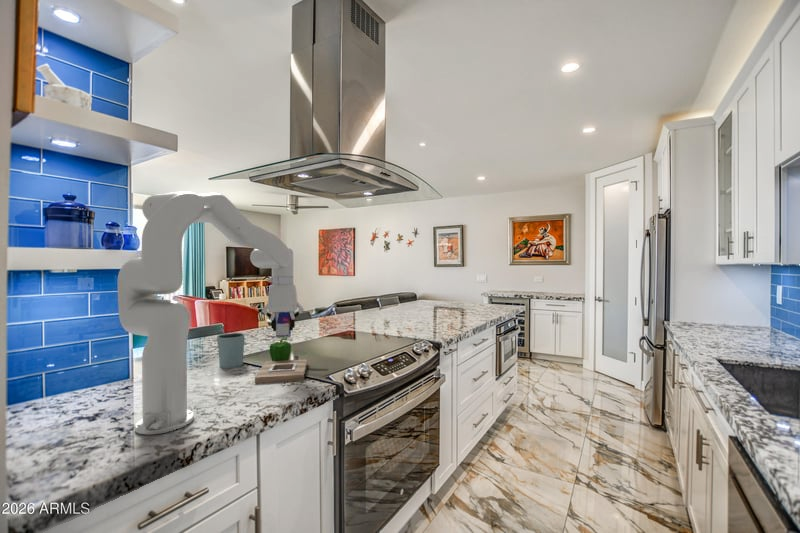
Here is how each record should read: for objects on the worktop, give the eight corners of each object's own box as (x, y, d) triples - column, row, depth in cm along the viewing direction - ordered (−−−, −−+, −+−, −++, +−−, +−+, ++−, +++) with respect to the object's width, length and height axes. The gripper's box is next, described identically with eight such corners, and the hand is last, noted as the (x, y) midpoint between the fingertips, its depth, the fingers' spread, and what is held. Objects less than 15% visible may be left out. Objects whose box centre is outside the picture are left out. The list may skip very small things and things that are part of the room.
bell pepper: (268, 366, 142) (268, 340, 142) (270, 360, 150) (270, 336, 150) (290, 364, 145) (290, 339, 144) (291, 359, 153) (291, 335, 152)
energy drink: (288, 338, 131) (287, 305, 130) (273, 338, 131) (273, 305, 131) (292, 335, 136) (292, 304, 136) (278, 335, 136) (278, 304, 136)
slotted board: (303, 380, 125) (303, 373, 125) (254, 383, 122) (254, 376, 122) (307, 364, 145) (307, 358, 145) (265, 366, 142) (265, 360, 142)
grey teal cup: (238, 368, 139) (238, 337, 139) (211, 368, 139) (211, 337, 139) (248, 361, 149) (248, 332, 149) (224, 361, 149) (224, 332, 149)
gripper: (256, 282, 128) (256, 333, 128) (305, 281, 131) (306, 331, 131) (260, 281, 135) (260, 329, 135) (307, 280, 138) (307, 327, 139)
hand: (283, 329), depth 133 cm, fingers closed on energy drink, 5 cm apart
